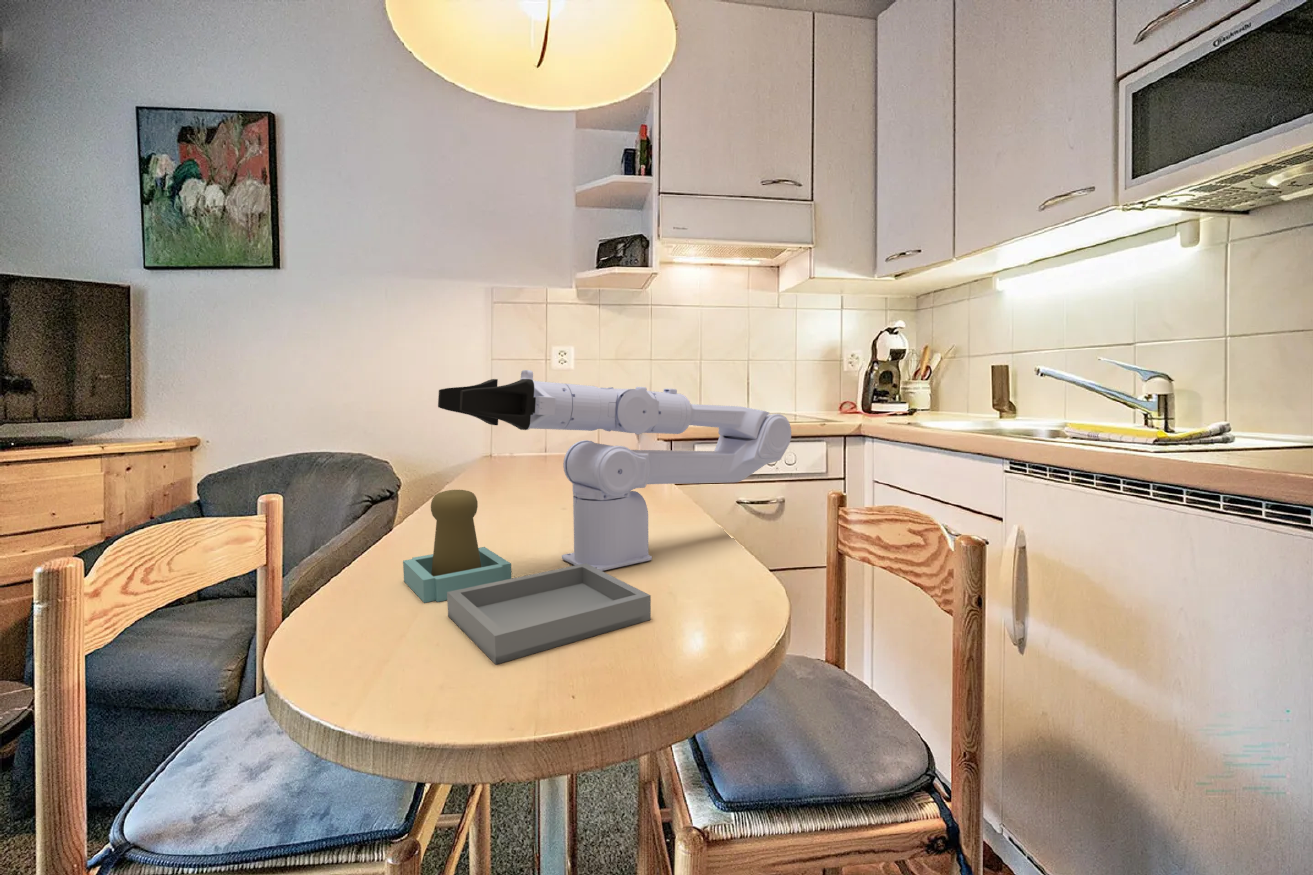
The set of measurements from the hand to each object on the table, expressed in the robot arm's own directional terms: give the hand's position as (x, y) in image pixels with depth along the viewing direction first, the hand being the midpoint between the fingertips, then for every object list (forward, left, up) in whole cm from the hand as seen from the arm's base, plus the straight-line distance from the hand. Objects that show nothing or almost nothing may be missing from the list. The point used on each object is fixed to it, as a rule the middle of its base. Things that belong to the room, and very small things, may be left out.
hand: (449, 399), depth 66 cm
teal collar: (-1, -3, -22) cm, 22 cm away
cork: (-1, -3, -22) cm, 22 cm away
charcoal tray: (-5, +13, -22) cm, 26 cm away
